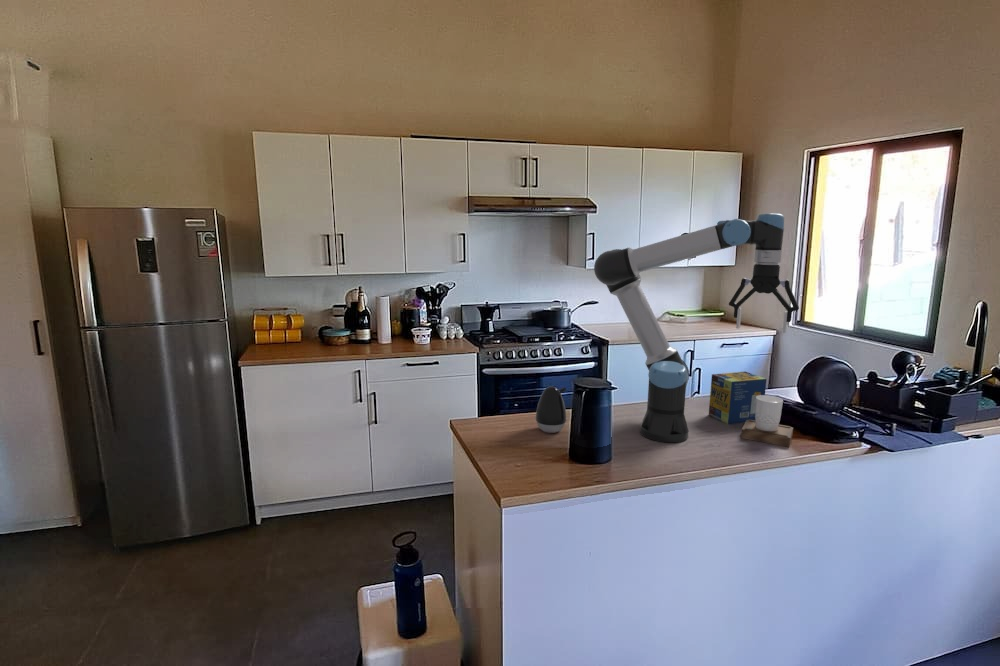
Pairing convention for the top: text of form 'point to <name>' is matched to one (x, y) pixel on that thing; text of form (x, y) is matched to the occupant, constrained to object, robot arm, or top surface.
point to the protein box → (735, 396)
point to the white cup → (768, 412)
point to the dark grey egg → (551, 410)
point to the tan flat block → (767, 434)
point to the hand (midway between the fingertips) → (760, 330)
